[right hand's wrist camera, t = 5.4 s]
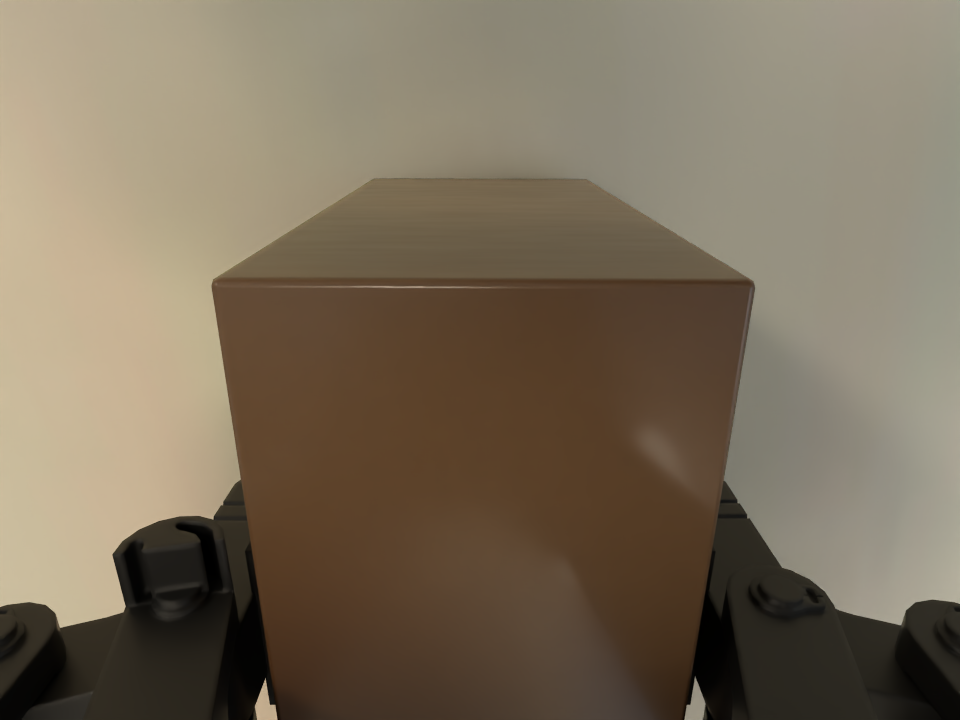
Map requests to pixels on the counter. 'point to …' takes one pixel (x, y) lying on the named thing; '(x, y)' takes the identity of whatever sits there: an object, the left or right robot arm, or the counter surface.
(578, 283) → the post
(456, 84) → the counter surface
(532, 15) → the counter surface
